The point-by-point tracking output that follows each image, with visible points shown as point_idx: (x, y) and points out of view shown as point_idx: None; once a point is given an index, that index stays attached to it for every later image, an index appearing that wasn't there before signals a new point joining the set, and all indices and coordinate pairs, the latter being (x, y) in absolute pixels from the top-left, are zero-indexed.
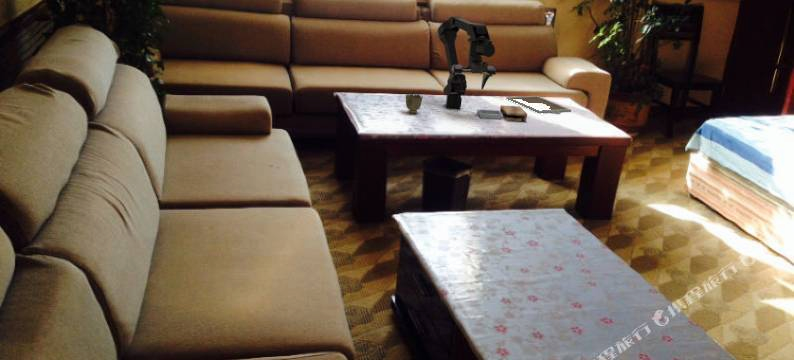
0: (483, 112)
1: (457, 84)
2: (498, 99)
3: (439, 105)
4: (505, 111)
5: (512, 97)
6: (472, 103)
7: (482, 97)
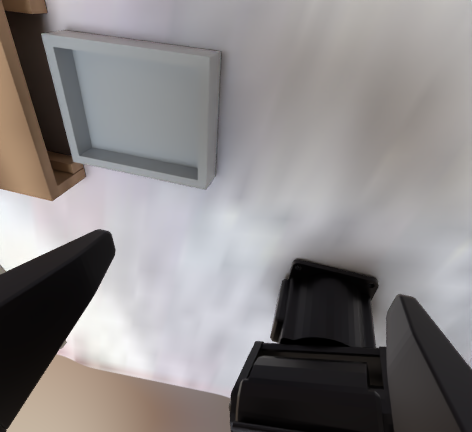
0: (175, 166)
1: (337, 425)
2: (91, 344)
3: None
4: (7, 51)
5: None
6: (197, 326)
7: (144, 369)
